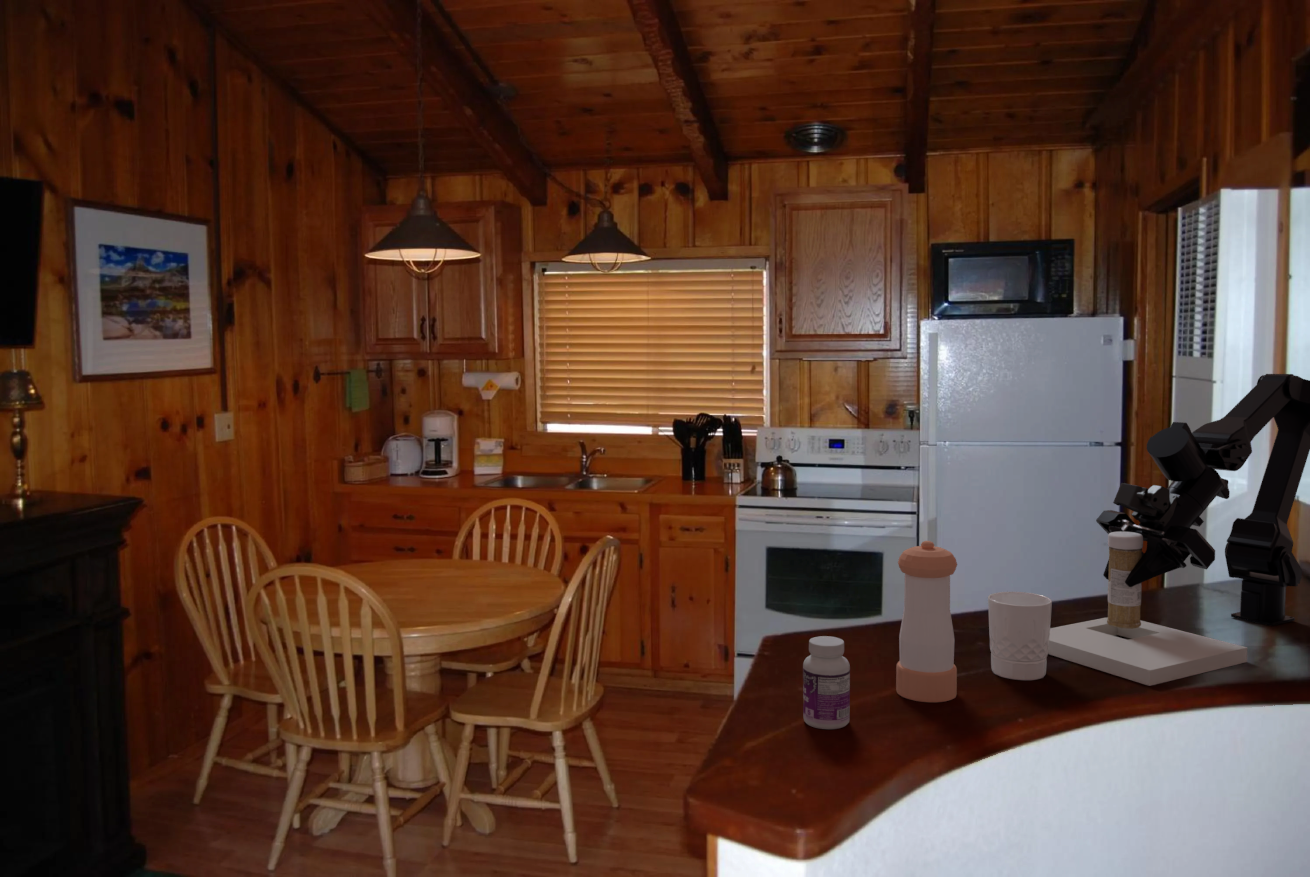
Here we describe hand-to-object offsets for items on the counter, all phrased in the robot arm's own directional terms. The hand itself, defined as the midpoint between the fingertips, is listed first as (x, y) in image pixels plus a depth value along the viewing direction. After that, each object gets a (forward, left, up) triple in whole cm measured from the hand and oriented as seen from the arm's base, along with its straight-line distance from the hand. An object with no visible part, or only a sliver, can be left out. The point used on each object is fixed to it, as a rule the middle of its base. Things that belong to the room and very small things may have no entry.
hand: (1116, 581), depth 146 cm
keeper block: (+2, +4, -9) cm, 10 cm away
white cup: (+22, +2, -9) cm, 24 cm away
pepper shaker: (+38, +2, -9) cm, 39 cm away
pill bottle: (+55, +4, -9) cm, 56 cm away
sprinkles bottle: (-1, 0, -7) cm, 7 cm away
